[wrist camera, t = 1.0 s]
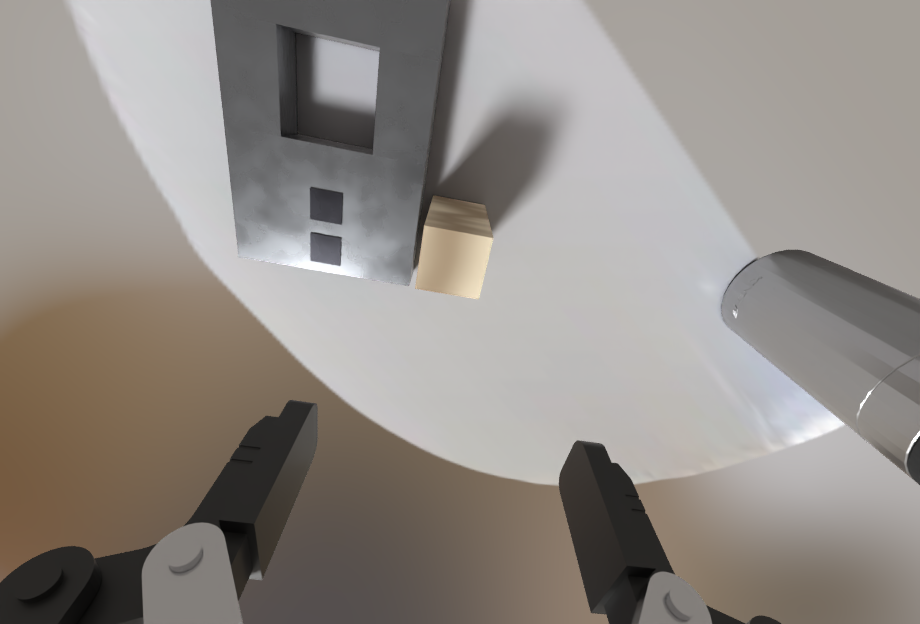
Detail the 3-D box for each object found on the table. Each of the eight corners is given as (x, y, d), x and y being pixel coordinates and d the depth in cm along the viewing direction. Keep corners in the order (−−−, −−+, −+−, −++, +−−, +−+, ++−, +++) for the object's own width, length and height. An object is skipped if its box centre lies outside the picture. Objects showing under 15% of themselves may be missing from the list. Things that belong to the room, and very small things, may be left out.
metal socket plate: (450, -2, 24) (449, -16, 22) (412, 272, 34) (408, 286, 31) (231, -56, 23) (201, -77, 20) (256, 245, 33) (238, 257, 30)
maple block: (484, 204, 31) (493, 238, 23) (474, 253, 33) (478, 299, 25) (433, 195, 31) (424, 225, 23) (425, 245, 33) (415, 288, 25)
